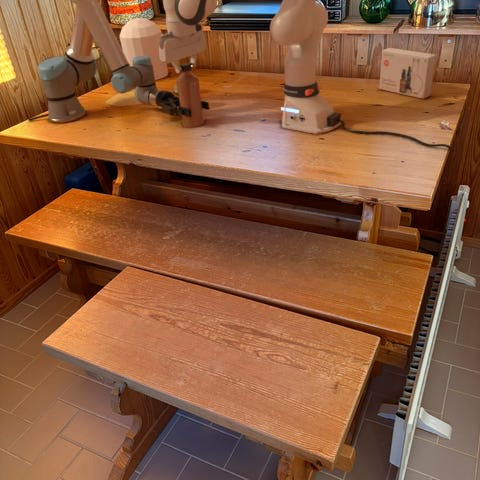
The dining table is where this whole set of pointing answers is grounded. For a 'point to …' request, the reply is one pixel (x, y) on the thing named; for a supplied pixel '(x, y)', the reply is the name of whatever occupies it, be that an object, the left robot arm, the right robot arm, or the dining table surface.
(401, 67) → the skincare box
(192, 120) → the bottle
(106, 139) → the dining table surface
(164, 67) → the container
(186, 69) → the cap
